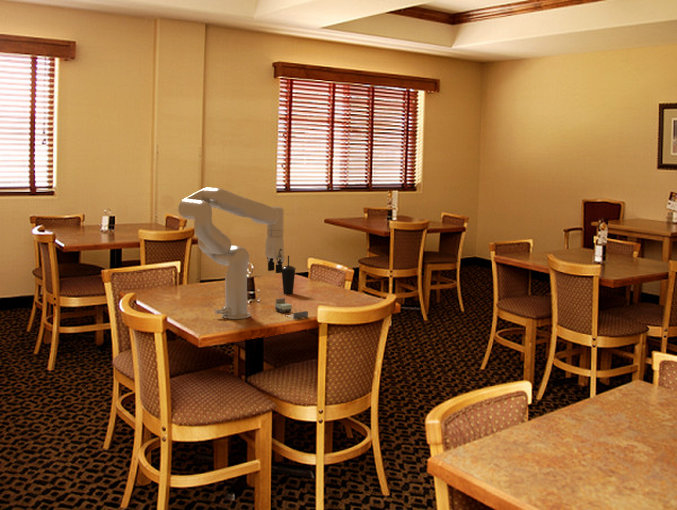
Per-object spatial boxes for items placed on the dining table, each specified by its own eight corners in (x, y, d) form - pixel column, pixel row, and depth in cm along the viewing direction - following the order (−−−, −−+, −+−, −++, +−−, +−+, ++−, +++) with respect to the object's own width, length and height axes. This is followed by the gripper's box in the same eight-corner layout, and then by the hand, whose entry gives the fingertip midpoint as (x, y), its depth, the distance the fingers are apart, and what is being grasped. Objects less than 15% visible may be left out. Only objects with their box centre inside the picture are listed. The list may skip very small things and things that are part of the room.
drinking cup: (293, 295, 353) (293, 257, 350) (279, 294, 355) (279, 256, 352) (297, 292, 361) (297, 255, 358) (283, 292, 362) (283, 254, 359)
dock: (294, 319, 304) (294, 313, 303) (282, 315, 312) (282, 308, 311) (307, 317, 308) (307, 311, 307) (296, 313, 316) (296, 307, 315)
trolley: (274, 310, 319) (274, 299, 319) (284, 309, 323) (285, 297, 322) (281, 313, 314) (281, 301, 313) (292, 312, 317) (292, 300, 316)
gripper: (258, 232, 324) (258, 269, 327) (277, 236, 310) (277, 275, 313) (272, 231, 328) (272, 268, 331) (291, 235, 314) (291, 274, 317)
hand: (274, 271), depth 322 cm, fingers open, 6 cm apart
